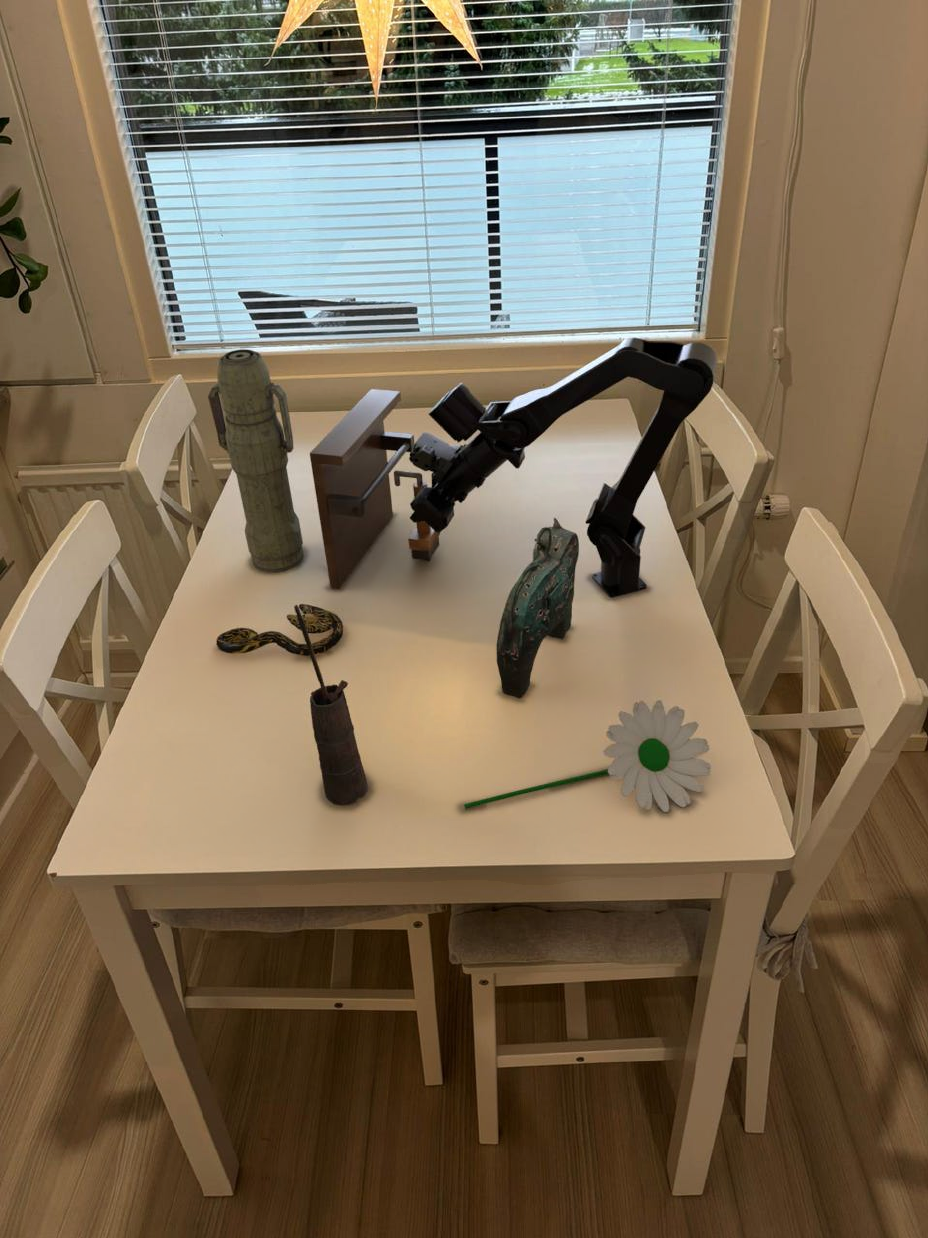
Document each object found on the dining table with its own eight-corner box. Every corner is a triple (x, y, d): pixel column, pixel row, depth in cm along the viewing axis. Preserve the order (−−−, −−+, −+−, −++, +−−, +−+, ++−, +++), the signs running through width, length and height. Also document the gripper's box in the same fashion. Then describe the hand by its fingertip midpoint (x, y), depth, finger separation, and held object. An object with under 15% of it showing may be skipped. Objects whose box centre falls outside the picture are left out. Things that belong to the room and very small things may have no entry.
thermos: (250, 544, 159) (208, 344, 139) (317, 544, 158) (285, 343, 138) (236, 572, 152) (189, 366, 132) (306, 573, 151) (271, 365, 131)
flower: (450, 750, 108) (693, 685, 110) (451, 760, 113) (683, 697, 116) (480, 863, 104) (733, 792, 106) (480, 867, 109) (721, 800, 111)
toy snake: (206, 629, 131) (231, 594, 140) (210, 656, 134) (235, 620, 142) (329, 640, 129) (347, 604, 137) (331, 668, 131) (349, 630, 140)
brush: (440, 544, 154) (435, 465, 146) (430, 562, 150) (423, 482, 142) (407, 540, 156) (399, 462, 147) (395, 557, 152) (387, 478, 143)
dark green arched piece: (547, 614, 139) (548, 497, 127) (587, 625, 137) (593, 506, 125) (488, 694, 125) (484, 570, 113) (532, 707, 123) (532, 582, 111)
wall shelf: (421, 518, 164) (410, 391, 150) (370, 594, 146) (353, 457, 132) (384, 514, 166) (371, 388, 152) (330, 588, 147) (309, 453, 133)
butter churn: (370, 746, 118) (344, 561, 101) (403, 794, 111) (381, 603, 95) (302, 774, 115) (264, 587, 98) (332, 825, 108) (296, 633, 91)
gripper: (458, 397, 145) (398, 455, 154) (418, 449, 131) (355, 509, 140) (508, 447, 148) (446, 501, 157) (474, 504, 133) (408, 559, 143)
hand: (414, 516), depth 149 cm, fingers closed on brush, 2 cm apart
